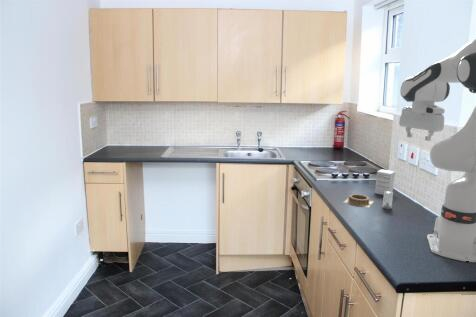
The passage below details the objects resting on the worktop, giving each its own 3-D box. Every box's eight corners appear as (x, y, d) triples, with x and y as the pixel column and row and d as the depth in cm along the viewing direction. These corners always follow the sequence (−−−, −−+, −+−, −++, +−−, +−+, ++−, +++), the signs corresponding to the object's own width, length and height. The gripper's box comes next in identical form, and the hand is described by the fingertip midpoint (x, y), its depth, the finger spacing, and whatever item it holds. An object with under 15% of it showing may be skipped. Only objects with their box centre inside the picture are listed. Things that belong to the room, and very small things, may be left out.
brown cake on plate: (368, 209, 177) (369, 202, 176) (342, 204, 183) (343, 197, 182) (373, 203, 187) (374, 196, 186) (349, 198, 193) (350, 191, 192)
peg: (390, 210, 175) (392, 194, 174) (381, 208, 177) (383, 192, 176) (391, 208, 179) (394, 192, 177) (383, 206, 181) (385, 190, 179)
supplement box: (378, 191, 207) (381, 168, 205) (392, 194, 203) (395, 171, 200) (374, 194, 202) (376, 171, 199) (388, 197, 197) (391, 173, 194)
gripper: (398, 106, 175) (394, 135, 178) (438, 110, 158) (434, 142, 161) (407, 106, 178) (403, 135, 181) (448, 110, 160) (443, 142, 163)
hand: (418, 138), depth 171 cm, fingers open, 8 cm apart
